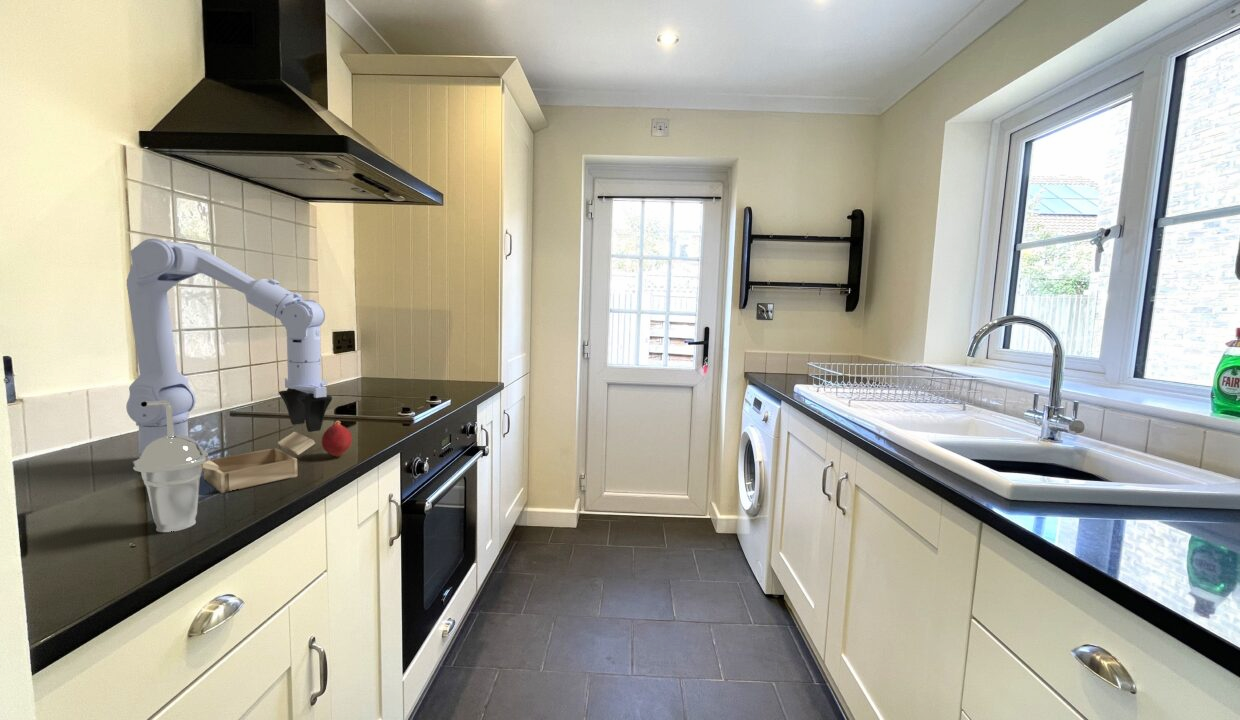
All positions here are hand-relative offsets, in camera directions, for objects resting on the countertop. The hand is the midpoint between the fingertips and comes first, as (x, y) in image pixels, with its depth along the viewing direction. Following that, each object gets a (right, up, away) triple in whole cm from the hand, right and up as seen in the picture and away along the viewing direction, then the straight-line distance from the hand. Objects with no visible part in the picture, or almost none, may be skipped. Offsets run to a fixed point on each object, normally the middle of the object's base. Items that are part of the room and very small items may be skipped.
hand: (305, 427), depth 104 cm
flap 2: (-1, -3, -1) cm, 3 cm away
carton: (-6, -9, -7) cm, 13 cm away
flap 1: (-11, -4, -13) cm, 17 cm away
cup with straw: (-3, -11, -27) cm, 30 cm away
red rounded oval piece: (+2, -8, +8) cm, 11 cm away
